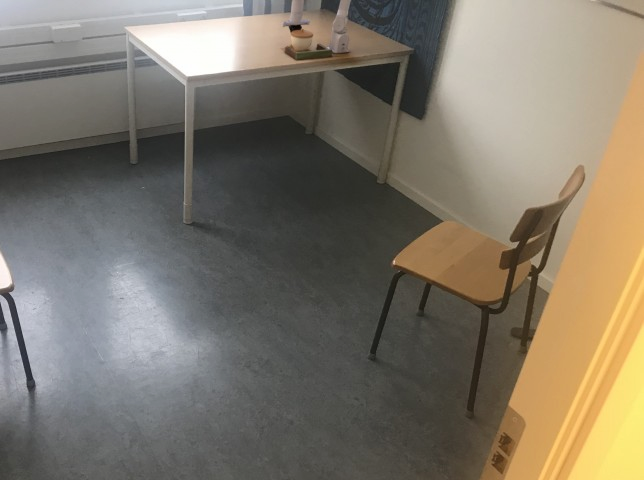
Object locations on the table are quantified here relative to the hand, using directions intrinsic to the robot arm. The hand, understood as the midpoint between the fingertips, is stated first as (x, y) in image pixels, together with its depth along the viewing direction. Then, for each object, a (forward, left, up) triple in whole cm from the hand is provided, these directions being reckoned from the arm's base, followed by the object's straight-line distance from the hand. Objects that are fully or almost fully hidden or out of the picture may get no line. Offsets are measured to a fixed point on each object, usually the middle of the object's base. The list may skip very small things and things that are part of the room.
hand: (293, 40), depth 350 cm
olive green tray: (-16, 0, -2) cm, 16 cm away
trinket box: (-8, 0, -2) cm, 8 cm away
